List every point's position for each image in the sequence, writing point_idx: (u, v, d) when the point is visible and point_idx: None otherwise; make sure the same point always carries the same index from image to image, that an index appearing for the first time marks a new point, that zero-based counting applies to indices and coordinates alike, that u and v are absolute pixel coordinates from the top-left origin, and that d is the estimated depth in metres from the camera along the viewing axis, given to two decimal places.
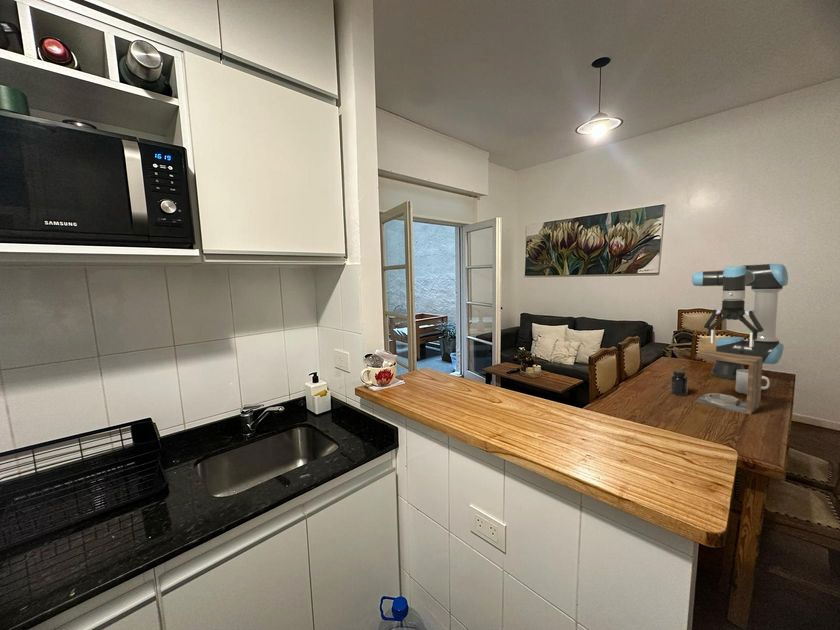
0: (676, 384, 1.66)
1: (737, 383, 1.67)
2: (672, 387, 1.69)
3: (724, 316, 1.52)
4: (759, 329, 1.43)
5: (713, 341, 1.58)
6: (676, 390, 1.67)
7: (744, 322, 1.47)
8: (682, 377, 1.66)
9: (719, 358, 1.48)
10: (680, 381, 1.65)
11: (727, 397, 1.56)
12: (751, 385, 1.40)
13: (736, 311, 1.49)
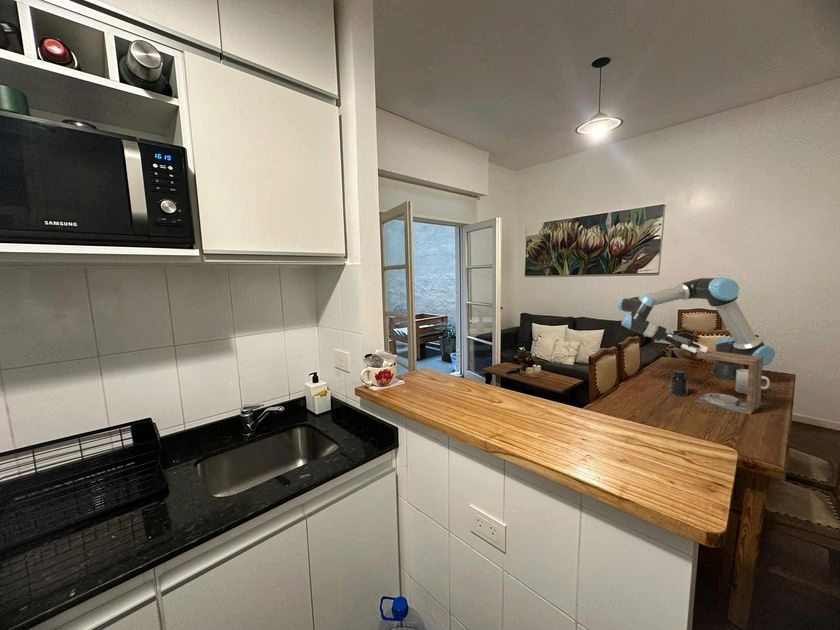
0: (676, 384, 1.66)
1: (737, 383, 1.67)
2: (672, 387, 1.69)
3: (668, 341, 1.71)
4: (687, 344, 1.58)
5: (694, 350, 1.69)
6: (676, 390, 1.67)
7: (677, 342, 1.63)
8: (682, 377, 1.66)
9: (719, 358, 1.48)
10: (680, 381, 1.65)
11: (727, 397, 1.56)
12: (751, 385, 1.40)
13: (665, 337, 1.68)
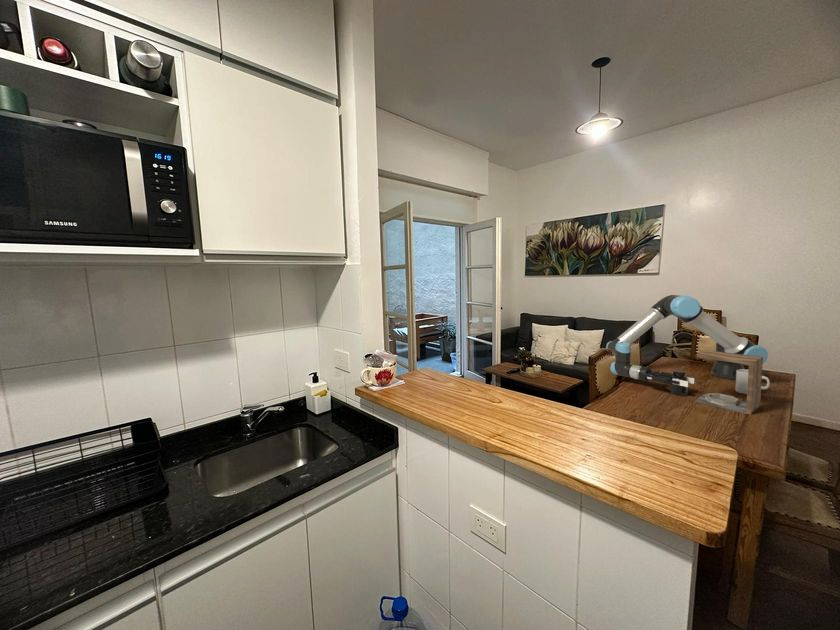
0: None
1: (737, 383, 1.67)
2: (672, 387, 1.69)
3: None
4: None
5: (692, 381, 1.66)
6: (676, 390, 1.67)
7: None
8: (682, 377, 1.66)
9: (719, 358, 1.48)
10: None
11: (727, 397, 1.56)
12: (751, 385, 1.40)
13: None
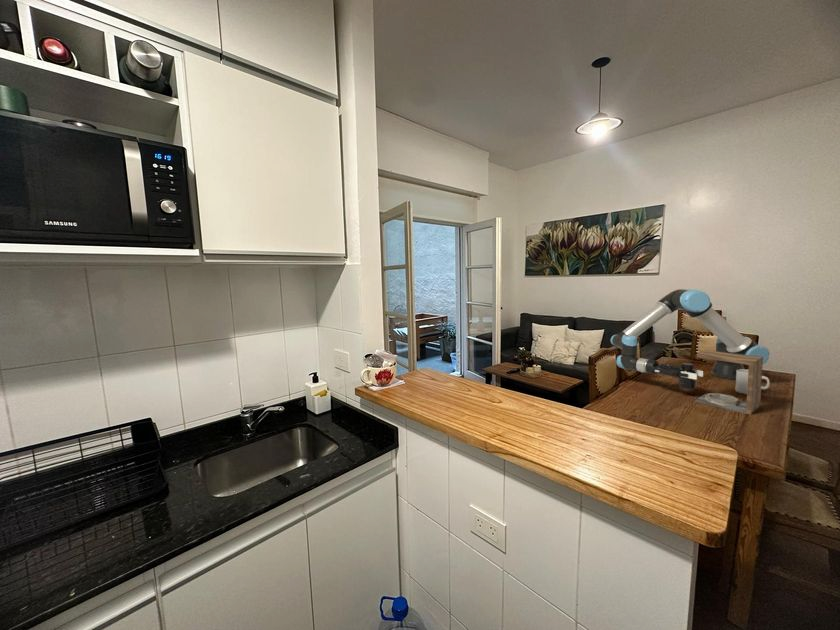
0: (684, 377, 1.63)
1: (737, 383, 1.67)
2: (680, 380, 1.65)
3: None
4: None
5: (700, 374, 1.63)
6: (684, 383, 1.63)
7: None
8: (691, 370, 1.62)
9: (719, 358, 1.48)
10: None
11: (727, 397, 1.56)
12: (751, 385, 1.40)
13: None
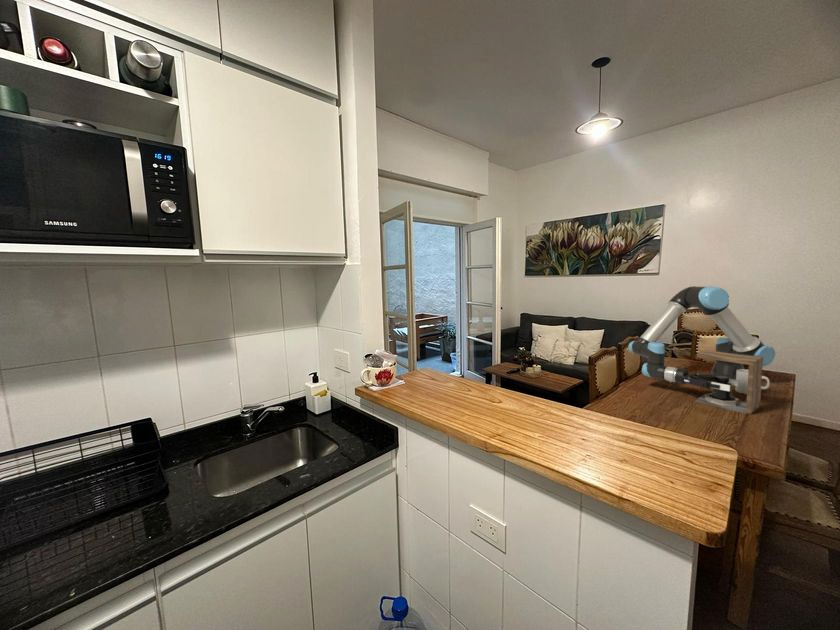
0: (719, 391, 1.52)
1: None
2: (714, 394, 1.54)
3: None
4: None
5: (736, 383, 1.53)
6: (718, 397, 1.52)
7: None
8: (726, 383, 1.51)
9: (719, 358, 1.48)
10: None
11: None
12: (751, 385, 1.40)
13: None
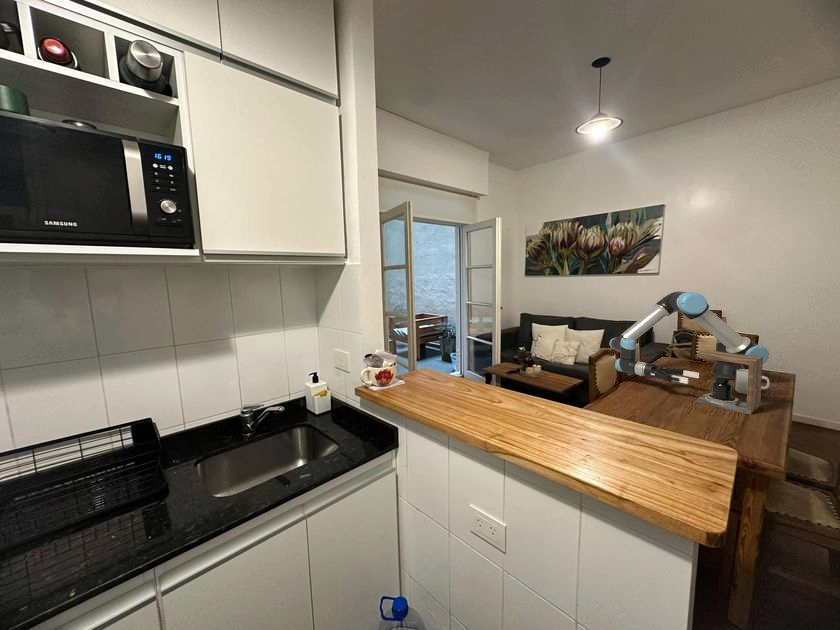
0: (719, 391, 1.52)
1: (737, 383, 1.67)
2: (714, 394, 1.54)
3: None
4: None
5: (697, 376, 1.67)
6: (718, 397, 1.52)
7: None
8: (726, 383, 1.51)
9: (719, 358, 1.48)
10: (724, 387, 1.51)
11: None
12: (751, 385, 1.40)
13: None
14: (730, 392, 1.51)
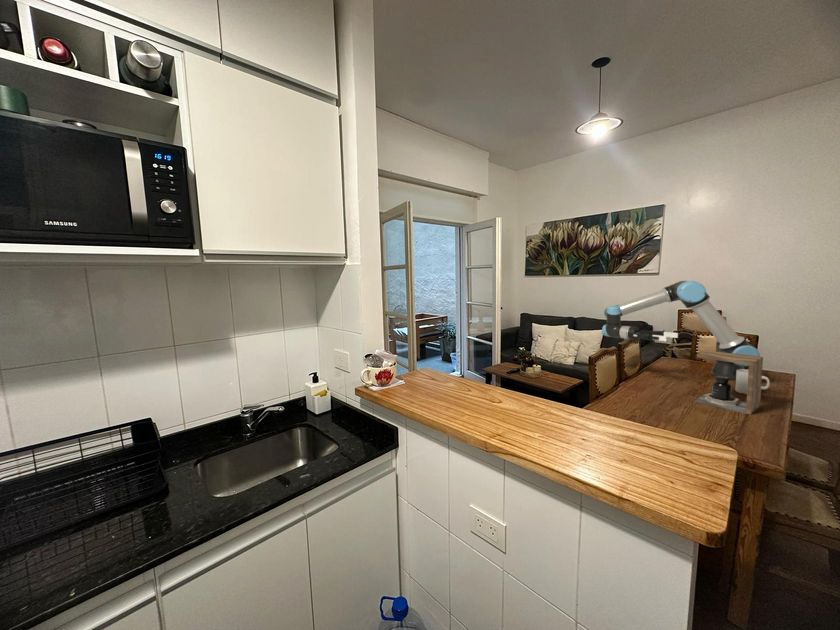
0: (719, 391, 1.52)
1: (737, 383, 1.67)
2: (714, 394, 1.54)
3: None
4: None
5: (675, 335, 1.80)
6: (718, 397, 1.52)
7: None
8: (726, 383, 1.51)
9: (719, 358, 1.48)
10: (724, 387, 1.51)
11: None
12: (751, 385, 1.40)
13: None
14: (730, 392, 1.51)
